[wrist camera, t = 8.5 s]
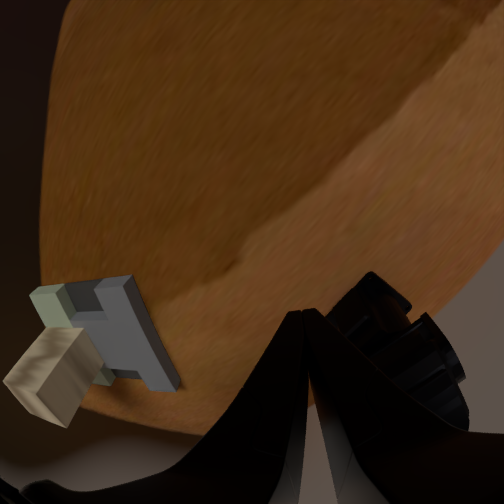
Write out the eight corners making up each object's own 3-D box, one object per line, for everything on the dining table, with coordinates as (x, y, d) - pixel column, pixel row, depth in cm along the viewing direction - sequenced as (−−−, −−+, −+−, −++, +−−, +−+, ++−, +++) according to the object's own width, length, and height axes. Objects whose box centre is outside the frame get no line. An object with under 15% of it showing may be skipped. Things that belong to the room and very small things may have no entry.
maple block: (84, 328, 24) (35, 394, 15) (104, 362, 26) (66, 428, 17) (47, 326, 25) (2, 380, 16) (66, 357, 27) (29, 412, 18)
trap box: (132, 274, 23) (122, 285, 21) (180, 379, 29) (176, 392, 27) (38, 286, 25) (29, 295, 23) (88, 372, 31) (82, 381, 29)
